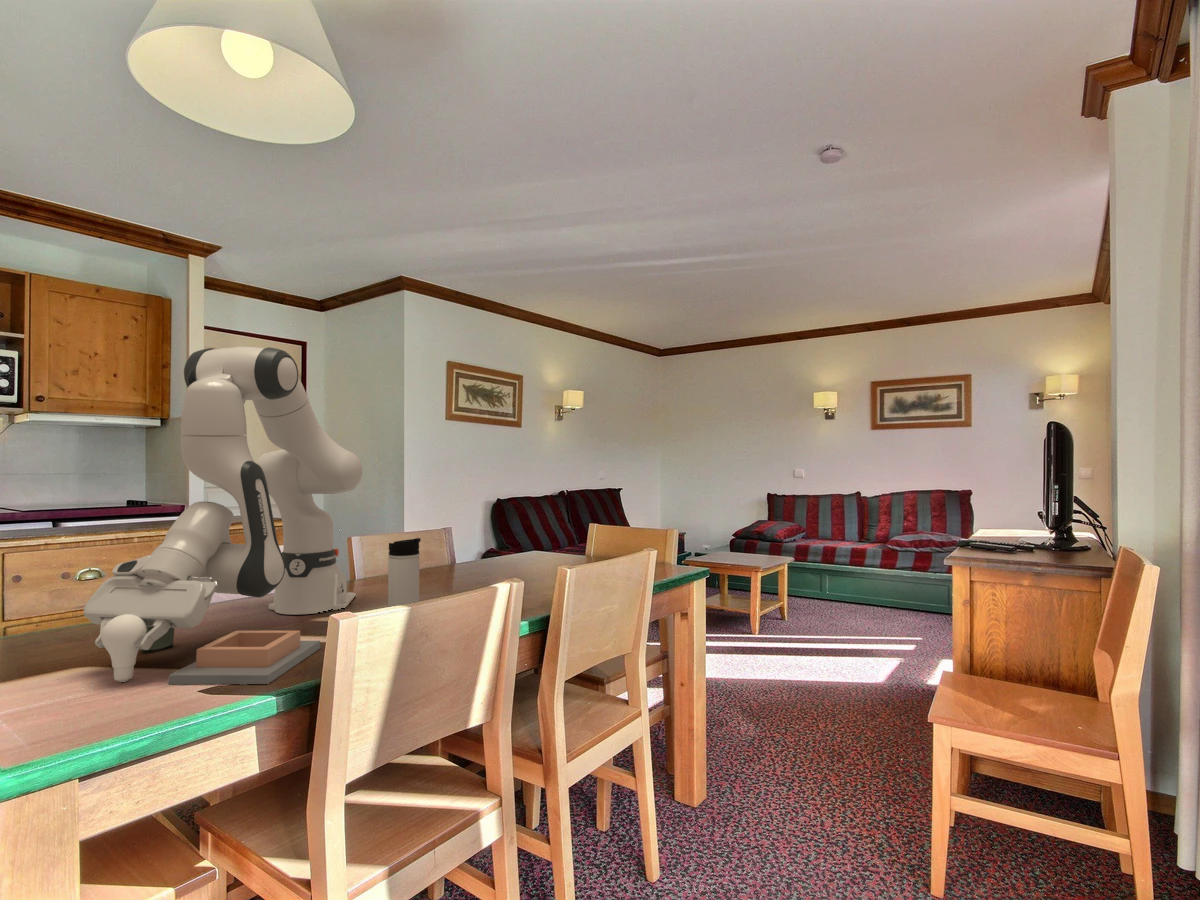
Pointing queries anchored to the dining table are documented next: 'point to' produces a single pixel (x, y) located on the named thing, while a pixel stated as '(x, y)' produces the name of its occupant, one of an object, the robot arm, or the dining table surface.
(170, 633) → the labelled grey plug block
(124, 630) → the lightbulb
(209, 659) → the board
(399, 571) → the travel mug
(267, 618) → the dining table surface
